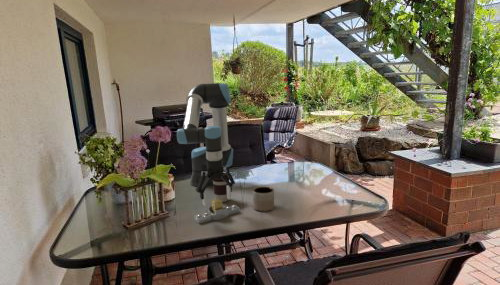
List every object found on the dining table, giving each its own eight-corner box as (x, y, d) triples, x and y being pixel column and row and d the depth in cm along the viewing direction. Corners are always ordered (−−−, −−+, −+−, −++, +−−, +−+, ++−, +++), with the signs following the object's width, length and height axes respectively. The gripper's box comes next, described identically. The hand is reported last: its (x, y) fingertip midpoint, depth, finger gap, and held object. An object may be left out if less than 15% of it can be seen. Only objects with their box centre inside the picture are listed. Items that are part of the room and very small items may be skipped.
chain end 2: (214, 213, 158) (213, 204, 157) (233, 208, 163) (232, 199, 163) (221, 218, 151) (221, 209, 150) (241, 213, 157) (240, 204, 156)
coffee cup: (233, 197, 179) (232, 171, 176) (226, 204, 169) (225, 177, 167) (217, 196, 182) (216, 170, 179) (210, 202, 173) (208, 175, 170)
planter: (259, 213, 156) (259, 195, 154) (249, 206, 165) (249, 188, 163) (278, 209, 161) (278, 190, 159) (267, 202, 170) (267, 185, 168)
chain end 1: (193, 218, 152) (192, 210, 151) (214, 213, 158) (213, 204, 157) (200, 224, 145) (199, 215, 144) (221, 218, 151) (221, 209, 150)
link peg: (212, 215, 155) (211, 200, 153) (219, 213, 157) (218, 198, 156) (215, 218, 152) (214, 202, 150) (223, 216, 154) (222, 200, 152)
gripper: (193, 165, 140) (196, 210, 144) (241, 156, 153) (242, 198, 157) (186, 162, 146) (189, 205, 150) (233, 153, 159) (235, 194, 163)
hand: (216, 201), depth 153 cm, fingers open, 13 cm apart
